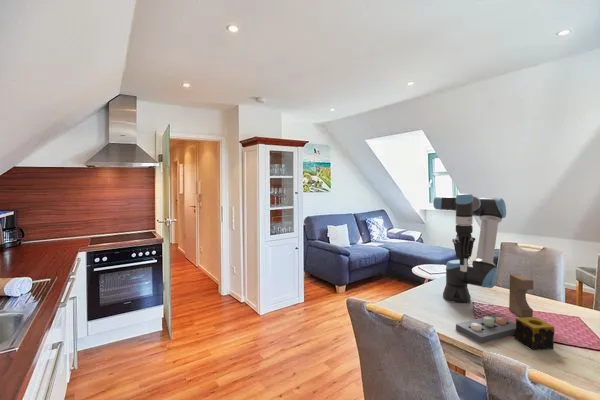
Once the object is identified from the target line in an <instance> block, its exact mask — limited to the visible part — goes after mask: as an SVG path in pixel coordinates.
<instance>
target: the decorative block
mask: <svg viewBox="0 0 600 400" xmlns="http://www.w3.org/2000/svg"><path fill="white" fill-rule="evenodd" d="M529 290H530V291H533V290H534V279H531V278H529V277H527V276H524V275H522V274H520V273H516V274H514V273H512V274H510V275H509V298H508V299H509V300H508V301H509V303H508V305H509V307H508V310H509V311H511V312H512V313H514V314H515V315H517V316H518V317H519V318H524V317H534V316H533V314H534V313H533V312H534V310H533V308H531V307H530V305H529V303H528V300H527V298H526V293H527V292H528V291H529Z"/></svg>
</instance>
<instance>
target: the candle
mask: <svg viewBox="0 0 600 400" xmlns="http://www.w3.org/2000/svg"><path fill="white" fill-rule="evenodd" d="M515 324H516V329H515V335H514V337H513V339H515V340H516V341H517V342H519V344H522V345H523V346H525V347H527V348H528V349H530V350H531V351H539V350H540V351H542V350H553V349H554V347H555V343H554V337H555V326H554V325H552V324H550V323H548V322H547V321H544V320H542V319H540V318H539V317H536V316H533V317H524V318H521V317H515Z"/></svg>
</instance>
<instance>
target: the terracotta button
mask: <svg viewBox="0 0 600 400" xmlns="http://www.w3.org/2000/svg"><path fill="white" fill-rule="evenodd" d="M506 320H507V319H506V318H505V317H501V316H499V317H496V323H497V324H500V325H502V326H503V325H506Z"/></svg>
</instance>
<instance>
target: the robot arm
mask: <svg viewBox="0 0 600 400" xmlns="http://www.w3.org/2000/svg"><path fill="white" fill-rule="evenodd" d="M432 205H433V208H434V209H435V210H439V211H451V212H452V211H453V212H455V232H456V237H455V238H453V239H452V243H453V247H454V252H455V256H456V258H458V259H452V260H448V261H447V262H446V265H445V287H444V290H443V291H442V298H443V299H444V300H447V301H448V302H452V303H458V304H464V303H465V304H467V303H469V302H471V294H470V291H469V287H468V285H471V286H477V287H481V288H488V289H493V288H494V287H495V286H496V285H497V284H496V283H497V281H498V279H499V269H498V268H497V267H496V266H497V265H496V264H495V263H494V257H495V250H496V249H495V248H496V244H497V243H496V242H497V235H498V227H499V223H501V222H502V221H503V219H505V218H506V216H507V207H506V206H507V205H506V202H505V200H504V199H503V198H500V197H499V198H498V197H477V196H474V195H473V194H472V193H457V194H456V196H449V195H448V196H446V195H445V196H444V195H442V196H441V195H440V196H435V197H434V198H433V204H432ZM474 217H478V219H479V220H481V224H480V230H479V237H478V243H477V251H476V258H475V259H474V260H472V262H471V263H472V264H471V263H469V259H470V258H471V257H472V254H473V248H474V242H475V241H476V237H473V235H472V233H473V229H474V227H473V221H474V219H473V218H474Z"/></svg>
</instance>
